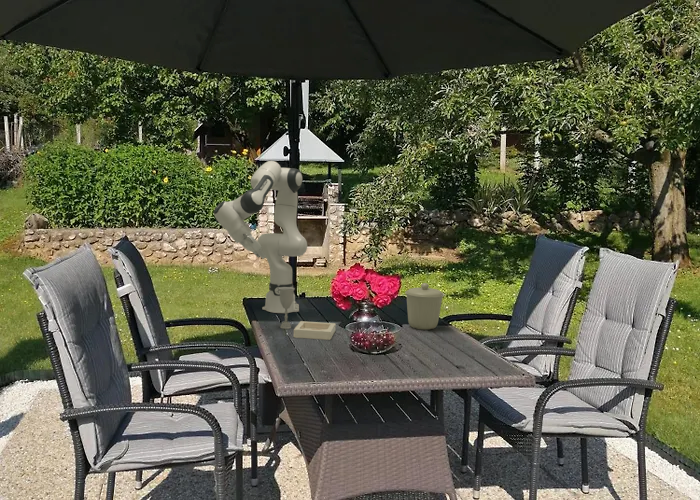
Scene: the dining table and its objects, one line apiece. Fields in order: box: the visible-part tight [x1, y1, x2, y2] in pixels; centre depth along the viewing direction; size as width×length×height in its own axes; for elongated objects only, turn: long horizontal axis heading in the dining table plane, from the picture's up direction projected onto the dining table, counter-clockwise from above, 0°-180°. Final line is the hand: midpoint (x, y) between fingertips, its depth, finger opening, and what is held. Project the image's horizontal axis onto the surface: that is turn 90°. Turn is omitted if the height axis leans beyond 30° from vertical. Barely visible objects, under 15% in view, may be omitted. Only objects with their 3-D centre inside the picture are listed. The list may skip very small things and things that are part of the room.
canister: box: [404, 282, 445, 331], centre depth 321 cm, size 18×18×21 cm
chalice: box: [279, 287, 296, 330], centre depth 312 cm, size 7×7×18 cm
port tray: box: [293, 320, 337, 341], centre depth 302 cm, size 16×16×4 cm
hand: (262, 257), depth 306 cm, fingers open, 8 cm apart
